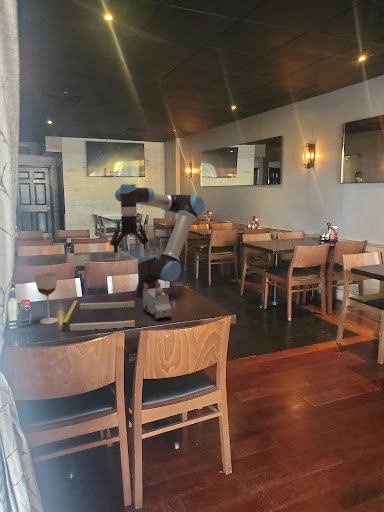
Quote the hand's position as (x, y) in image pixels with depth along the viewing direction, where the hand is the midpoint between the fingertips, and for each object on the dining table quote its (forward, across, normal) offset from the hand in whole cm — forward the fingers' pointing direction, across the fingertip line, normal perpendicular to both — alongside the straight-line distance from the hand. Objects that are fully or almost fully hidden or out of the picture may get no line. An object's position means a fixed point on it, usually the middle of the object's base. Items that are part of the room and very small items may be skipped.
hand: (130, 257), depth 189 cm
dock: (+27, +17, +2) cm, 32 cm away
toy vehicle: (+28, -6, +15) cm, 32 cm away
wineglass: (+27, +39, -9) cm, 48 cm away
